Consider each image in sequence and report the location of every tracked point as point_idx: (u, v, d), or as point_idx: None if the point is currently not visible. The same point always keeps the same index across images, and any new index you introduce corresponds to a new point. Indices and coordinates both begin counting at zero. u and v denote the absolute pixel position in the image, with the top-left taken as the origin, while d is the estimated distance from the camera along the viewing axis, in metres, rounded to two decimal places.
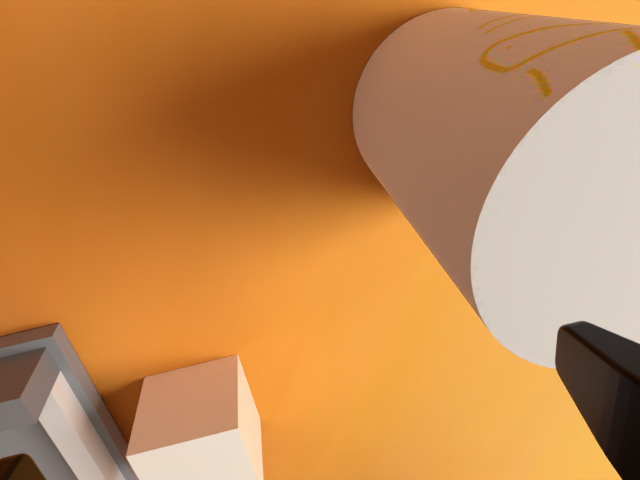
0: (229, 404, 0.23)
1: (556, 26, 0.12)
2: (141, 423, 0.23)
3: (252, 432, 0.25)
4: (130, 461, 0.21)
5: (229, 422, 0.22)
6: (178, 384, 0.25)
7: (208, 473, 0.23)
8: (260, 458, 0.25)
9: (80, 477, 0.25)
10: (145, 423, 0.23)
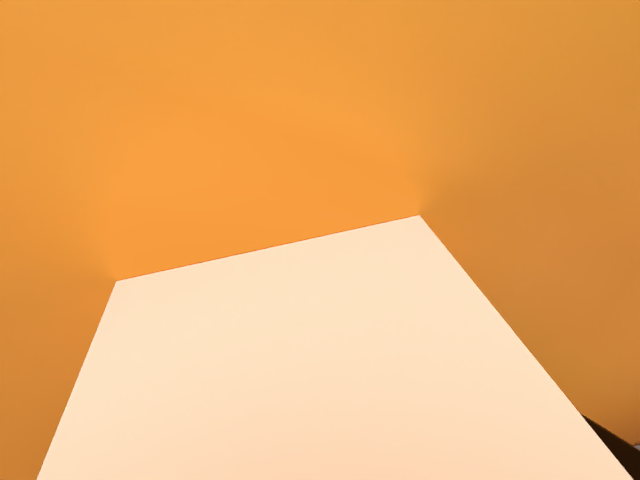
0: None
1: None
2: None
3: (319, 359, 0.05)
4: None
5: None
6: None
7: None
8: (471, 344, 0.05)
9: None
10: None
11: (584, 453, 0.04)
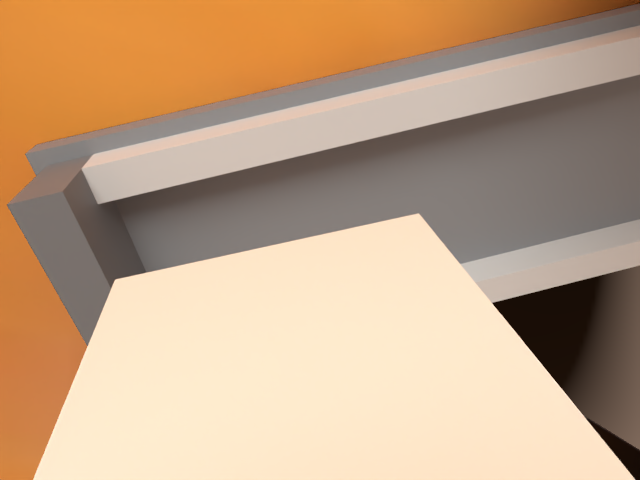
0: None
1: None
2: None
3: (318, 357, 0.05)
4: None
5: None
6: None
7: None
8: (471, 342, 0.05)
9: (277, 156, 0.15)
10: None
11: (584, 450, 0.04)
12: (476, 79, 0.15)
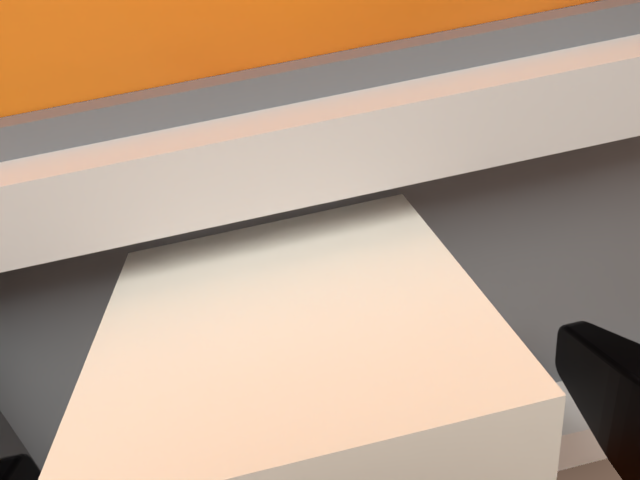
0: None
1: None
2: None
3: (309, 310, 0.06)
4: None
5: None
6: None
7: None
8: (440, 295, 0.06)
9: (243, 211, 0.07)
10: None
11: (524, 372, 0.05)
12: None
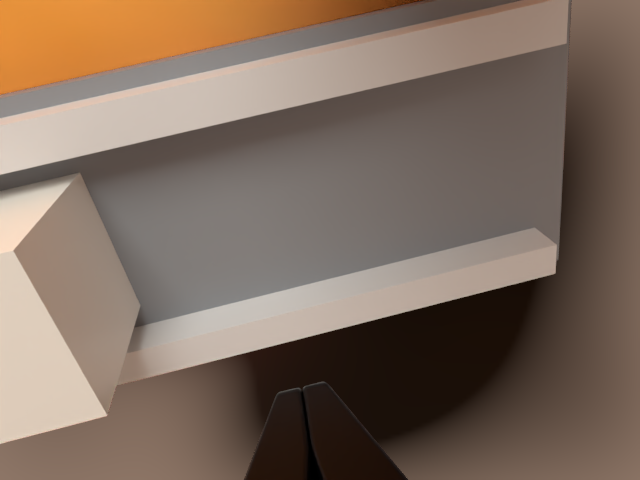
0: None
1: None
2: None
3: None
4: None
5: None
6: None
7: None
8: (22, 219, 0.12)
9: None
10: None
11: (10, 244, 0.10)
12: (180, 89, 0.13)
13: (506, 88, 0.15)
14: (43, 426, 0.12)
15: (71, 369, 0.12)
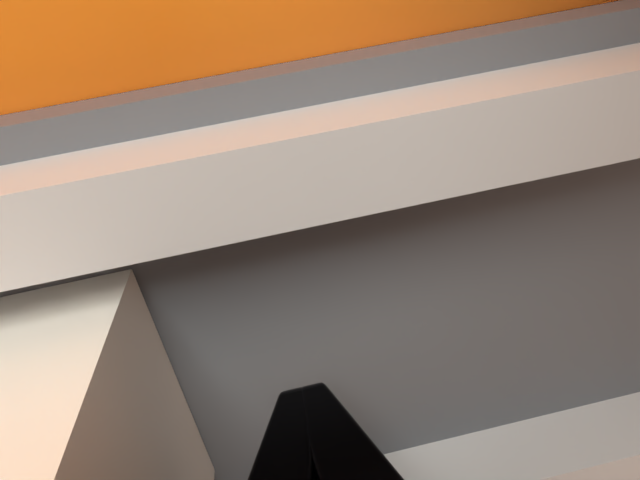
0: None
1: None
2: None
3: None
4: None
5: None
6: None
7: None
8: (23, 438, 0.05)
9: None
10: None
11: None
12: (407, 126, 0.06)
13: None
14: None
15: None
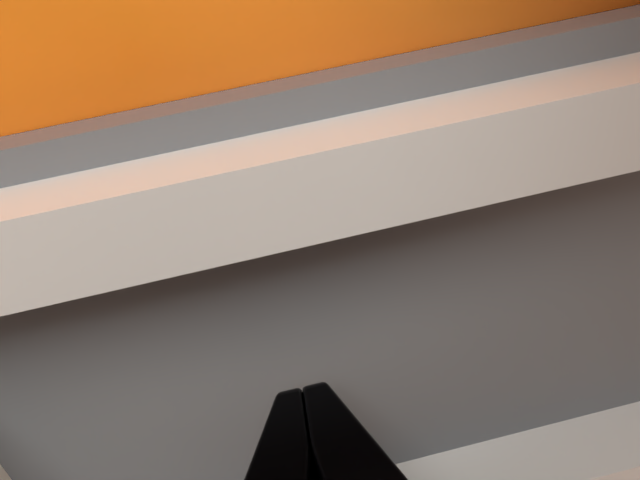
0: None
1: None
2: None
3: None
4: None
5: None
6: None
7: None
8: None
9: None
10: None
11: None
12: (372, 150, 0.06)
13: None
14: None
15: None
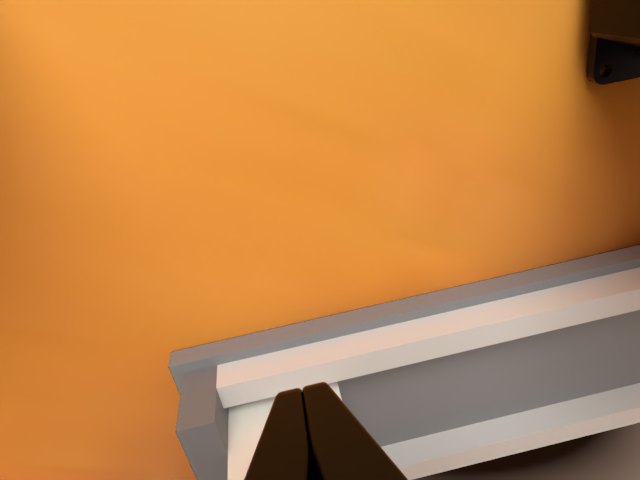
0: None
1: None
2: None
3: None
4: None
5: None
6: None
7: None
8: None
9: (355, 374, 0.21)
10: None
11: None
12: (500, 323, 0.21)
13: None
14: None
15: None
